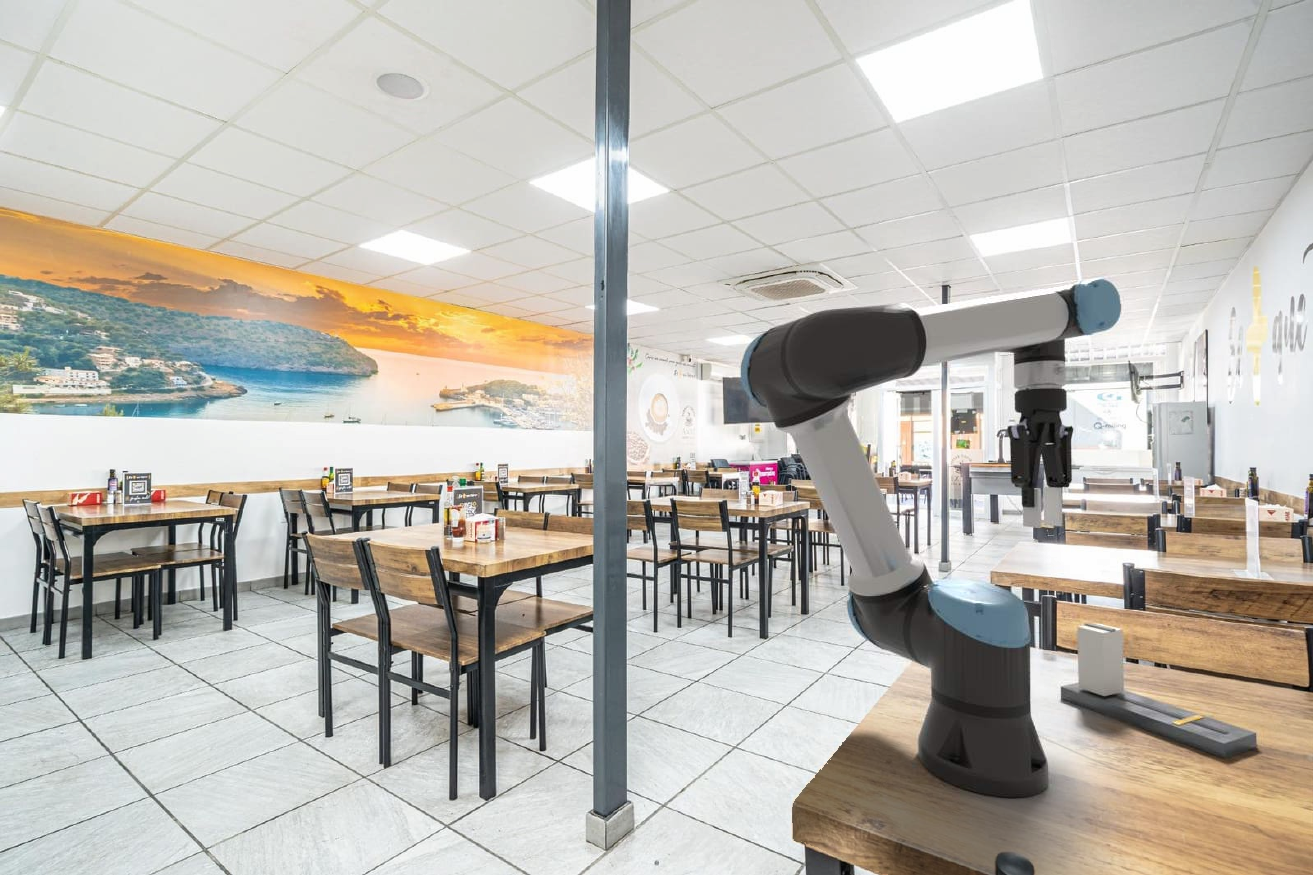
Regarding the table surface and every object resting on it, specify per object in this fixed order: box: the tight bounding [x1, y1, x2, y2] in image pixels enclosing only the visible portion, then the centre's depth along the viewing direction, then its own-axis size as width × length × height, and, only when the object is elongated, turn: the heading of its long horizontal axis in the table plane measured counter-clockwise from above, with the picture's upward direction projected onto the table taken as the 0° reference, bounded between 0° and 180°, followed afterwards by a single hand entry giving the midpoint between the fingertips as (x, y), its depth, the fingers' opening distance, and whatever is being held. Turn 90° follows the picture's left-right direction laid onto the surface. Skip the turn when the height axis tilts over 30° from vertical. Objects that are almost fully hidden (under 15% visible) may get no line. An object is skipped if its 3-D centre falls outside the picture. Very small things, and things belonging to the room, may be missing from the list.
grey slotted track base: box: [1060, 681, 1258, 759], centre depth 94 cm, size 22×8×2 cm, turn 23°
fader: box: [1076, 622, 1125, 696], centre depth 101 cm, size 4×5×10 cm
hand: (1042, 525), depth 104 cm, fingers open, 4 cm apart
